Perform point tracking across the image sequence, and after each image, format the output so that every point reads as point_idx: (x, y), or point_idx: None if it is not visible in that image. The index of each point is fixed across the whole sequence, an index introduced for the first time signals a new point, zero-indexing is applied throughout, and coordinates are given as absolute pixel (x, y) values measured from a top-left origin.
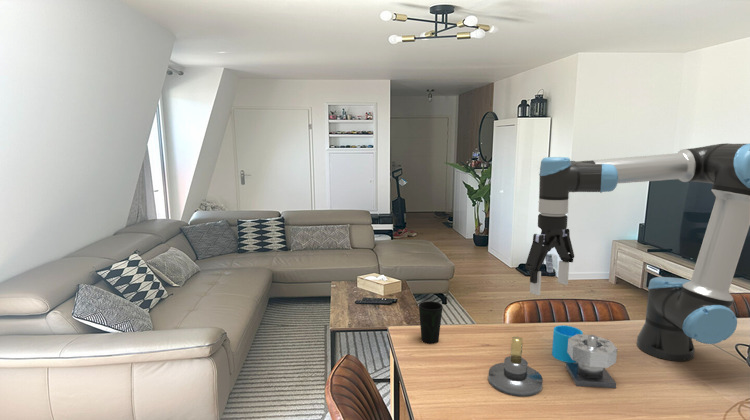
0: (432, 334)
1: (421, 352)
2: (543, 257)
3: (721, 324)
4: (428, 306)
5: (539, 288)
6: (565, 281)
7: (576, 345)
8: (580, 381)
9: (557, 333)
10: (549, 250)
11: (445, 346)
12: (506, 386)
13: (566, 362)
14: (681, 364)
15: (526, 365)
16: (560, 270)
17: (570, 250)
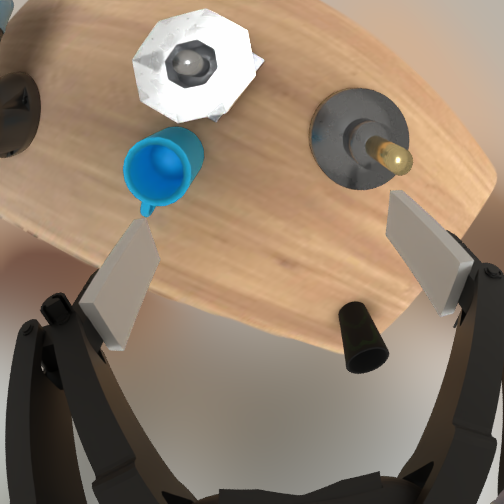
0: (366, 313)
1: (393, 288)
2: (491, 354)
3: None
4: (354, 364)
5: (413, 205)
6: (142, 232)
7: (244, 73)
8: (258, 56)
9: (191, 175)
10: (465, 429)
11: (350, 288)
12: (406, 126)
13: (215, 121)
14: (30, 64)
15: (371, 122)
16: (135, 296)
17: (29, 377)
